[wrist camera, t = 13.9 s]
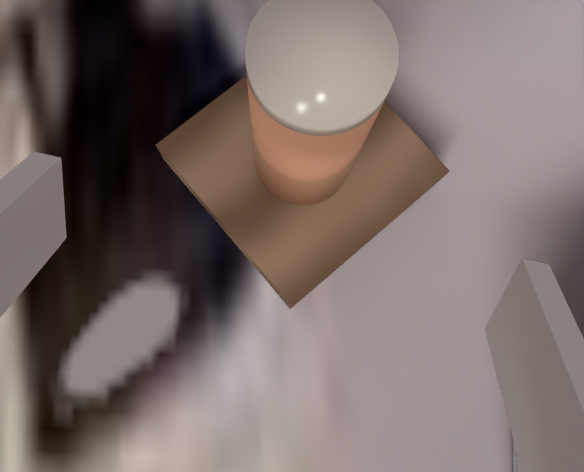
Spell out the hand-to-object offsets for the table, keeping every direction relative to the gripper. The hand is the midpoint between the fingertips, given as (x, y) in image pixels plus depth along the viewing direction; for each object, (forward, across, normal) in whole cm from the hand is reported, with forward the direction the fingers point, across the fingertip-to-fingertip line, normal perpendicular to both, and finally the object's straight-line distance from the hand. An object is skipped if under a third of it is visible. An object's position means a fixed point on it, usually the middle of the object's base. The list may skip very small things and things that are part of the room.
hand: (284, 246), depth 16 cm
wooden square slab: (+20, 0, -8) cm, 22 cm away
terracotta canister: (+18, 0, -6) cm, 19 cm away
